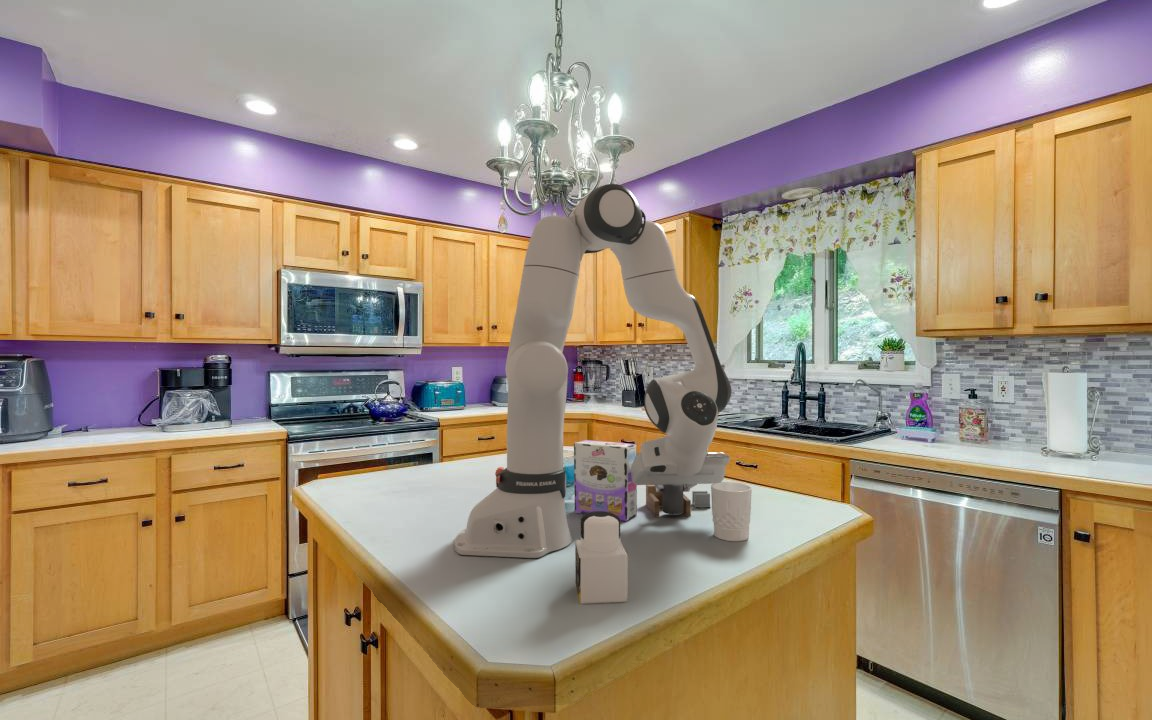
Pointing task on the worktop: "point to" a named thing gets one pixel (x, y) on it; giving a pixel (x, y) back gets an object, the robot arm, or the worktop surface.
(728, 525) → the white cup
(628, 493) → the candy box
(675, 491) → the plug
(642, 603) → the worktop surface
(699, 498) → the clip
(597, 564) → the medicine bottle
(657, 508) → the frame
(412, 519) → the worktop surface
